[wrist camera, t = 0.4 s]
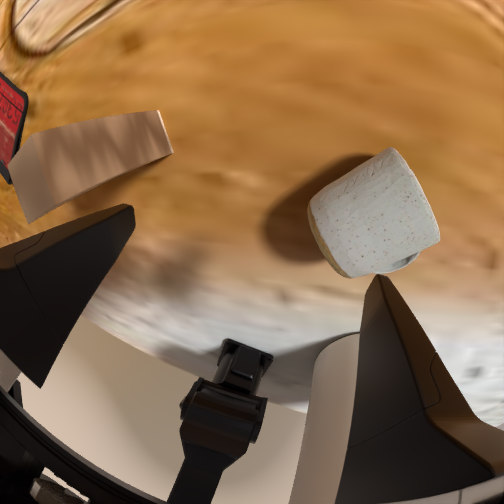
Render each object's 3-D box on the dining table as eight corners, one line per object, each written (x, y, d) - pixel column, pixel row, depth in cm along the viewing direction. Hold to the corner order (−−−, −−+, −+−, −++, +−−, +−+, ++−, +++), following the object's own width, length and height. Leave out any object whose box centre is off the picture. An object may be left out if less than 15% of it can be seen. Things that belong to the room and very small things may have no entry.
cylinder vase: (397, 387, 32) (392, 549, 11) (314, 388, 35) (279, 551, 14) (418, 326, 26) (438, 547, 5) (314, 329, 30) (265, 558, 9)
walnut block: (173, 152, 24) (55, 205, 12) (139, 167, 25) (28, 224, 13) (158, 110, 22) (31, 134, 10) (125, 128, 23) (7, 165, 12)
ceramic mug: (303, 190, 23) (294, 227, 16) (382, 139, 19) (411, 155, 12) (363, 278, 25) (371, 335, 19) (434, 239, 21) (464, 288, 15)
